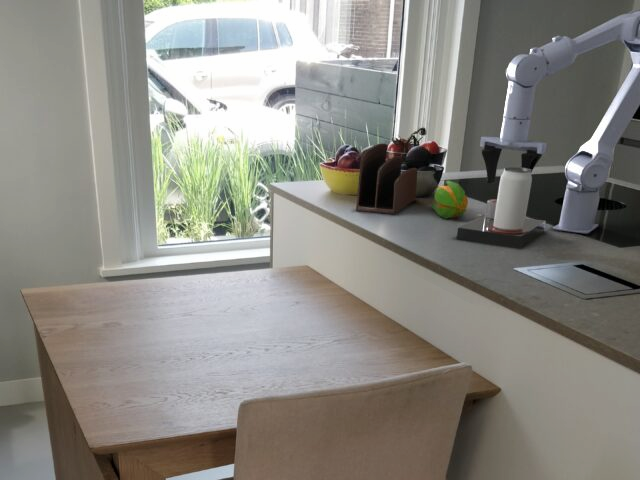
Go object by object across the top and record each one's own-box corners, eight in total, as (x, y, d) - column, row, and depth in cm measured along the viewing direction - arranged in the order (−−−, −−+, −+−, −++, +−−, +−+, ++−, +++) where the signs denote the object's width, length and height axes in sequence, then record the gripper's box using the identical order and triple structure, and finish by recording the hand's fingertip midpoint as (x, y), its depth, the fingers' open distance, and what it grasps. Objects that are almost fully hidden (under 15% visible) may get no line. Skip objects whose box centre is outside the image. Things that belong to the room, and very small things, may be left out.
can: (520, 225, 183) (530, 167, 177) (525, 232, 178) (536, 172, 171) (490, 224, 184) (499, 166, 177) (495, 231, 178) (504, 171, 172)
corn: (445, 188, 192) (426, 172, 209) (438, 222, 196) (421, 204, 213) (476, 190, 193) (455, 175, 210) (469, 224, 197) (449, 206, 214)
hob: (481, 222, 197) (483, 211, 195) (544, 231, 190) (547, 219, 188) (451, 238, 183) (453, 226, 182) (518, 248, 176) (520, 235, 175)
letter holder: (355, 211, 206) (359, 150, 199) (379, 196, 222) (384, 139, 214) (394, 215, 203) (399, 153, 195) (416, 200, 218) (422, 142, 211)
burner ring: (494, 222, 186) (494, 221, 186) (534, 227, 182) (534, 227, 182) (480, 230, 180) (480, 229, 179) (521, 236, 175) (521, 235, 175)
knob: (488, 214, 193) (491, 197, 191) (505, 216, 191) (508, 199, 189) (482, 217, 190) (485, 200, 188) (499, 219, 188) (502, 202, 186)
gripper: (477, 116, 180) (468, 182, 187) (540, 122, 172) (528, 191, 179) (493, 114, 184) (483, 178, 191) (555, 119, 176) (542, 187, 183)
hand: (506, 184), depth 185 cm, fingers open, 7 cm apart
